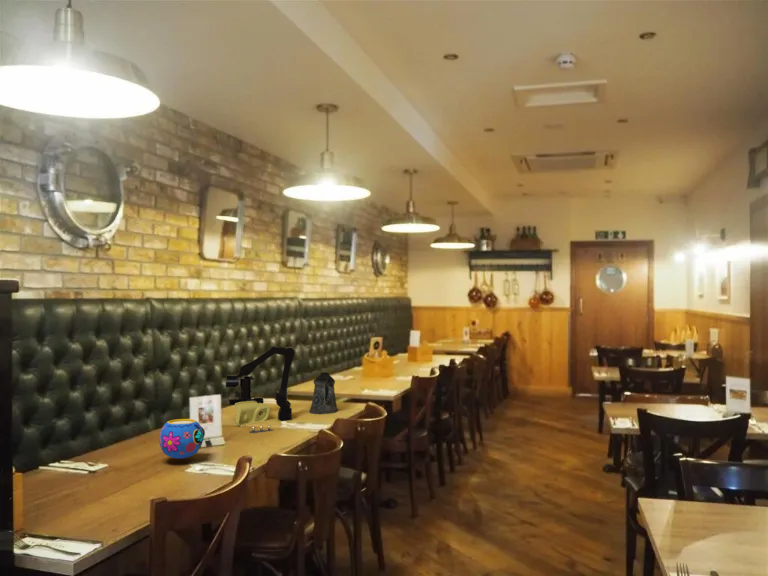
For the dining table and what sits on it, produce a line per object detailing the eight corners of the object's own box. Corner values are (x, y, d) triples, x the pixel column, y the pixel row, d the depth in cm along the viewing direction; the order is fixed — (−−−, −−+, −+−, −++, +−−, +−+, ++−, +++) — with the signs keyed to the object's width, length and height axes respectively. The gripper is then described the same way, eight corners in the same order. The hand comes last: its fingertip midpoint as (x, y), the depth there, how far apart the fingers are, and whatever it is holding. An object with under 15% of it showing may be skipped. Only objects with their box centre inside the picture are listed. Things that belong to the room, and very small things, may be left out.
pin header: (272, 431, 326) (272, 424, 326) (273, 432, 323) (273, 425, 324) (248, 433, 320) (248, 426, 320) (250, 434, 318) (250, 427, 318)
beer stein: (322, 413, 383) (323, 370, 384) (347, 416, 371) (348, 373, 372) (303, 416, 369) (304, 372, 370) (329, 420, 358) (329, 375, 359)
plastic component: (237, 426, 337) (241, 409, 335) (229, 420, 341) (233, 403, 340) (267, 421, 351) (271, 405, 350) (259, 416, 356) (263, 399, 354)
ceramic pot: (200, 462, 261) (201, 424, 261) (154, 463, 258) (155, 425, 258) (205, 452, 278) (206, 417, 278) (162, 453, 275) (163, 417, 275)
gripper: (258, 385, 361) (257, 413, 360) (224, 386, 352) (224, 415, 352) (264, 387, 351) (263, 416, 350) (229, 389, 342) (229, 419, 342)
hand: (245, 416), depth 349 cm, fingers closed
